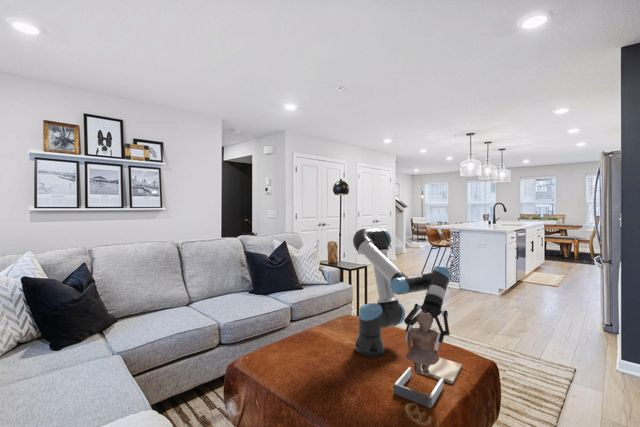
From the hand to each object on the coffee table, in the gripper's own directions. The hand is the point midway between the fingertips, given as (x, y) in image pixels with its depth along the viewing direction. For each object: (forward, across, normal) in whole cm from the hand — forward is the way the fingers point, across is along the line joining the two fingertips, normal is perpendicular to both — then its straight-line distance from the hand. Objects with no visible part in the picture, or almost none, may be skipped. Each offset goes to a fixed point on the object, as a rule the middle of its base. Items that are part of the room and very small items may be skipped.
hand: (420, 344), depth 129 cm
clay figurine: (+7, 0, -11) cm, 13 cm away
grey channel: (+13, +1, -17) cm, 21 cm away
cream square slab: (-3, -1, -32) cm, 33 cm away
